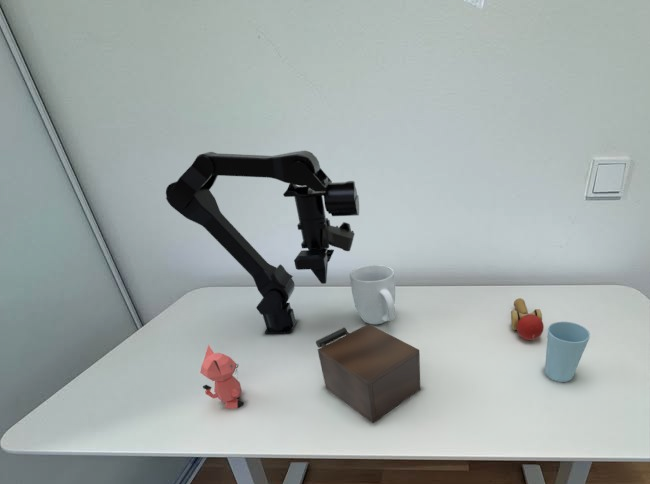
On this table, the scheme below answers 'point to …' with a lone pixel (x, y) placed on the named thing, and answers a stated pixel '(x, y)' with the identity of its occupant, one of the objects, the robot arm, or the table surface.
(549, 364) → the cup
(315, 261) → the robot arm
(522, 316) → the kendama
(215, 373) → the cat figurine
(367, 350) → the cabinet
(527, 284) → the table surface
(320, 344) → the drawer
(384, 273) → the mug
